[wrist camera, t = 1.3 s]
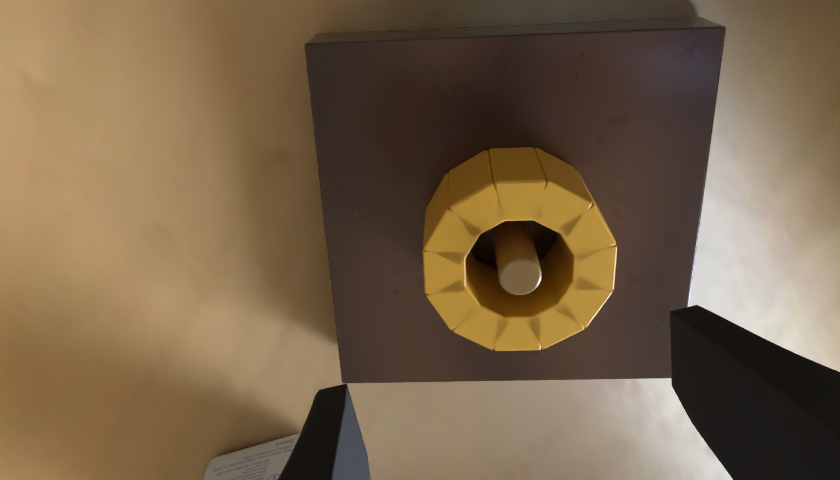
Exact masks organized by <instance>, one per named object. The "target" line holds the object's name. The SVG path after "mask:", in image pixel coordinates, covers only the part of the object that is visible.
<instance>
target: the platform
mask: <svg viewBox="0 0 840 480" xmlns="http://www.w3.org/2000/svg"><path fill="white" fill-rule="evenodd" d="M725 31H726V28H725V27H724V26H722V25H719V24H717V23H714V22H712V21H709V20H706V19H704V18H680V19H655V20H631V21H607V22H583V23H559V24H535V25H511V26H487V27H463V28H439V29H415V30H390V31H366V32H342V33H318V34H316V35H315V36H314V37H312V38H311V39H310V40H309V41H308V42H307V43H306V44H305V55H306V64H307V73H308V82H309V90H310V99H311V108H312V117H313V126H314V135H315V144H316V153H317V162H318V171H319V180H320V189H321V198H322V207H323V216H324V225H325V234H326V243H327V252H328V261H329V270H330V279H331V288H332V296H333V305H334V314H335V323H336V332H337V341H338V350H339V359H340V368H341V377H342V382H343V383H389V382H452V381H515V380H578V379H641V378H672V372H671V335H670V311H673V310H677V309H682V308H686V307H689V300H690V292H691V285H692V277H693V270H694V262H695V255H696V248H697V240H698V233H699V225H700V218H701V210H702V203H703V195H704V188H705V180H706V173H707V165H708V158H709V150H710V143H711V135H712V128H713V121H714V113H715V106H716V98H717V91H718V83H719V76H720V68H721V61H722V53H723V46H724V38H725ZM519 147H532V148H534V149H535V148H539V149H541V150H543V151H545V152H546V153H548V154H550V155H552V156H554V157H556V158H558V159H560V160H562V161H564V162H565V163H567V164H569V165H571V166H573V167H574V168H575V170H577V171H578V173H579V174H580V176H581V178H582V180H583V181H584V183H585V185H586V187H587V188H588V190H589V192H590V194H591V195H592V197H593V199H594V201H595V202H596V204H597V206H598V208H599V210H600V212H601V214H602V216H603V218H604V220H605V222H606V223H607V225H608V227H609V229H610V231H611V233H612V235H613V237H614V239H615V241H616V245H617V256H616V268H615V281H614V289H613V290H612V294H611V295H610V296H609V298H608V299H607V300H606V302H605V303H604V304H603V306H602V307H601V308H600V310H599V311H598V313H597V314H596V315H595V317H594V318H593V319H592V321H591V322H590V323H589V325H588V326H587V327H584V329H583V330H582V331H580V332H578V333H576V334H574V335H572V336H570V337H568V338H565V339H563V340H561V341H559V342H557V343H555V344H553V345H551V346H549V347H547V348H545V349H542V348H541V350H518V351H495V350H494V349H492V350H491V349H489V348H487V347H484V346H482V345H480V344H478V343H476V342H474V341H472V340H469V339H467V338H465V337H463V336H461V335H459V334H457V333H454V332H453V331H452V330H450V329H449V328H448V326H447V325H446V323H445V322H444V321H443V319H442V318H441V316H440V315H439V314H438V312H437V311H436V310H435V308H434V307H433V305H432V304H431V303H430V301H429V300H428V298H427V297H426V294H425V292H424V273H423V252H422V251H423V238H424V224H425V212H426V208H427V206H428V204H429V203H430V201H431V199H432V197H433V195H434V194H435V192H436V190H437V188H438V187H439V185H440V183H441V181H442V180H443V178H444V176H445V174H446V173H448V174H449V171H450V170H452V169H453V168H455V167H457V166H459V165H460V164H462V163H464V162H465V161H467V160H469V159H470V158H472V157H474V156H476V155H477V154H479V153H481V152H482V151H484V150H487V151H489V149H491V148H519ZM556 240H557V232H556V231H554V230H552V229H550V228H548V227H546V226H544V225H542V224H540V223H538V222H536V221H534V220H524V221H504V222H502V223H500V224H498V225H497V226H495V227H493V228H491V229H489V230H488V231H486V232H484V233H482V234H480V236H479V237H478V239H477V241H476V242H475V244H474V245H473V247H472V249H471V250H470V251H471V253H472V254H473V256H474V257H475V259H476V260H477V261H479V262H481V263H483V264H485V265H487V266H489V267H491V268H493V269H495V270H497V271H498V278H499V282H500V284H501V286H502V287H503V288H504V289H505V290H506V291H507V292H509V293H511V294H514V295H524V294H528V293H530V292H532V291H533V290H535V289H536V288H537V286H538V285H539V283H540V281H541V278H542V272H541V268H540V264H539V261H540V260H542V259H544V258H545V256H546V255H547V253H548V252H549V250H550V249H551V247H552V246H553V244H554V243H555V241H556Z"/></svg>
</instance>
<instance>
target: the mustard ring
mask: <svg viewBox="0 0 840 480" xmlns="http://www.w3.org/2000/svg"><path fill="white" fill-rule="evenodd" d="M524 220H534V221H536V222H538V223H540V224H542V225H544V226H546V227H548V228H550V229H552V230H554V231H556V232H557V240H556V241H555V243H554V244H553V246H552V247H551V249H550V250H549V252H548V253H547V255H546V256H545V258H544V259H542V260H540V261H539V264H540V268H541V272H542V278H541V281H540V283H539V285H538V286H537V288H536V289H535V290H533V291H532V292H530V293H528V294H524V295H514V294H511V293H509V292H507V291H506V290H505V289H504V288H503V287H502V286H501V284H500V282H499V278H498V271H497V270H495V269H493V268H491V267H489V266H487V265H485V264H483V263H481V262H479V261H477V260H476V259H475V257H474V256H473V254H472V253H471V251H470V250H471V249H472V247H473V245H474V244H475V242H476V241H477V239H478V237H479V236H480V234H482V233H484V232H486V231H488V230H489V229H491V228H493V227H495V226H497V225H498V224H500V223H502V222H504V221H524ZM422 252H423V273H424V292H425V294H426V297H427V298H428V300H429V301H430V303H431V304H432V305H433V307H434V308H435V310H436V311H437V312H438V314H439V315H440V316H441V318H442V319H443V321H444V322H445V323H446V325H447V326H448V328H449V329H450V330H452V331H453V332H454V333H457V334H459V335H461V336H463V337H465V338H467V339H469V340H472V341H474V342H476V343H478V344H480V345H482V346H484V347H487V348H489V349H491V350H492V349H494V350H495V351H518V350H541V348H542V349H545V348H547V347H549V346H551V345H553V344H555V343H557V342H559V341H561V340H563V339H565V338H568V337H570V336H572V335H574V334H576V333H578V332H580V331H582V330H583V329H584V327H587V326H588V325H589V323H590V322H591V321H592V319H593V318H594V317H595V315H596V314H597V313H598V311H599V310H600V308H601V307H602V306H603V304H604V303H605V302H606V300H607V299H608V298H609V296H610V295H611V294H612V290H613V289H614V281H615V268H616V256H617V245H616V241H615V239H614V237H613V235H612V233H611V231H610V229H609V227H608V225H607V223H606V222H605V220H604V218H603V216H602V214H601V212H600V210H599V208H598V206H597V204H596V202H595V201H594V199H593V197H592V195H591V194H590V192H589V190H588V188H587V187H586V185H585V183H584V181H583V180H582V178H581V176H580V174H579V173H578V171H577V170H575V168H574V167H573V166H571V165H569V164H567V163H565V162H564V161H562V160H560V159H558V158H556V157H554V156H552V155H550V154H548V153H546V152H545V151H543V150H541V149H539V148H535V149H534V148H532V147H519V148H491V149H489V151H487V150H484V151H482V152H481V153H479V154H477V155H476V156H474V157H472V158H470V159H469V160H467V161H465V162H464V163H462V164H460V165H459V166H457V167H455V168H453V169H452V170H450V171H449V174H448V173H446V174H445V176H444V178H443V180H442V181H441V183H440V185H439V187H438V188H437V190H436V192H435V194H434V195H433V197H432V199H431V201H430V203H429V204H428V206H427V208H426V212H425V224H424V238H423V251H422Z"/></svg>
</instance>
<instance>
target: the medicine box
mask: <svg viewBox="0 0 840 480" xmlns="http://www.w3.org/2000/svg"><path fill="white" fill-rule="evenodd" d="M299 436H300V433H298V434H294V435H291V436H288V437H284V438H281V439H277V440H274V441H270V442H267V443H264V444H260V445H256V446H253V447H250V448H246V449H243V450H239V451H236V452H232V453H229V454H225V455H222V456H218V457H215V458H213V459H211V461H210V463H209V465H208V468H207V470H206V473H205V475H204V478H203V480H277V479H278V478H279V476H280V474H281V472H282V470H283V469H284V467H285V465H286V463H287V461H288V459H289V457H290V455H291V453H292V450H293V448H294V446H295V444H296V442H297V440H298V438H299Z"/></svg>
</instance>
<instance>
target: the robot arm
mask: <svg viewBox="0 0 840 480" xmlns="http://www.w3.org/2000/svg"><path fill="white" fill-rule="evenodd" d="M670 335H671V372H672V387H673V389H674V390H675V392H676V394H677V396H678V398H679V400H680V402H681V404H682V406H683V407H684V409H685V411H686V413H687V415H688V416H689V418H690V420H691V422H692V423H693V425H694V426H695V428H696V429H697V431H698V432H699V433H700V435H701V436H702V438H703V439H704V440H705V442H706V443H707V445H708V446H709V447H710V449H711V450H712V451H713V453H714V454H715V455H716V457H717V458H718V460H719V461H720V462H721V464H722V465H723V466H724V468H725V469H726V470H727V472H728V473H729V474H730V476H731V477H732V478H733V480H840V372H838V371H836V370H833V369H830V368H828V367H825V366H823V365H821V364H818V363H816V362H814V361H811V360H809V359H807V358H804V357H802V356H800V355H797V354H795V353H793V352H791V351H789V350H787V349H784V348H782V347H780V346H778V345H776V344H774V343H772V342H770V341H768V340H766V339H764V338H762V337H760V336H758V335H756V334H754V333H752V332H750V331H748V330H746V329H744V328H742V327H740V326H738V325H736V324H734V323H732V322H730V321H728V320H726V319H724V318H722V317H720V316H718V315H716V314H714V313H713V312H711V311H708V310H706V309H704V308H702V307H700V306H698V305H695V306H691V307H686V308H682V309H677V310H673V311H670ZM277 480H370V472H369V464H368V456H367V452H366V448H365V445H364V442H363V438H362V435H361V431H360V428H359V424H358V421H357V417H356V414H355V410H354V407H353V403H352V400H351V396H350V393H349V389H348V386H347V384H343V385H339V386H334V387H330V388H325V389H321V390H319V391H318V392H317V394H316V395H315V398H314V401H313V404H312V406H311V409H310V412H309V414H308V417H307V419H306V422H305V424H304V426H303V429H302V431H301V433H300V436H299V438H298V440H297V442H296V444H295V446H294V448H293V450H292V453H291V455H290V457H289V459H288V461H287V463H286V465H285V467H284V469H283V470H282V472H281V474H280V476H279V478H278V479H277Z"/></svg>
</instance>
